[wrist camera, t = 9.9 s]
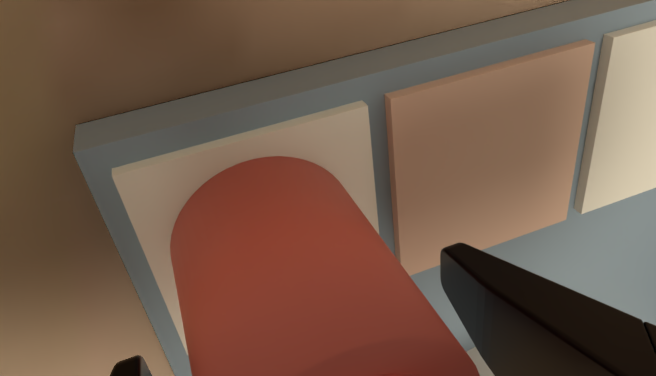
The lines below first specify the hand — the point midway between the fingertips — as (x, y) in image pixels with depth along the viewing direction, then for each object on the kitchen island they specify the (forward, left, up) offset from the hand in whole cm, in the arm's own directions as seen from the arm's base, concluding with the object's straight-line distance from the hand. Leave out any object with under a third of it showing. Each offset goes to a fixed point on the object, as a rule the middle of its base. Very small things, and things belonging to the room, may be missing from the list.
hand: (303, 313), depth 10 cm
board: (-4, -10, -4) cm, 11 cm away
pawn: (0, 0, -2) cm, 2 cm away
